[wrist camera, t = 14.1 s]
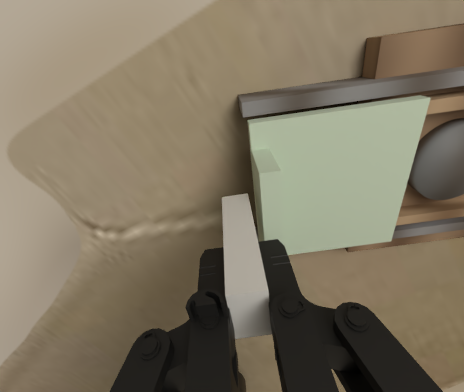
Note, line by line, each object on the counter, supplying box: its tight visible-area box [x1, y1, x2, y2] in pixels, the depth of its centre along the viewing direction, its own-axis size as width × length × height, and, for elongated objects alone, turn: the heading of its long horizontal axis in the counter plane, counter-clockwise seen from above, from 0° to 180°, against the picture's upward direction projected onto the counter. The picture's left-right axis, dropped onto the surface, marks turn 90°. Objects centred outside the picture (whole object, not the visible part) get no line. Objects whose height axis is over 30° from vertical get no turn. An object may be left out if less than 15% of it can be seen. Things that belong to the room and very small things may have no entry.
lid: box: [247, 95, 431, 255], centre depth 15 cm, size 10×10×4 cm
